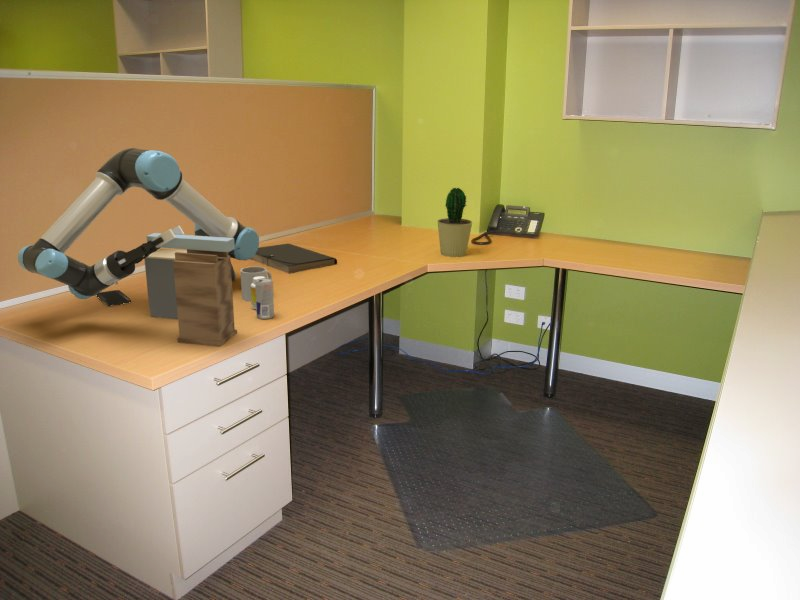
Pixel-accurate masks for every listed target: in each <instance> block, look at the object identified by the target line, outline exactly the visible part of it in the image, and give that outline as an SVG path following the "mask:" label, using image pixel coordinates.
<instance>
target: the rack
mask: <svg viewBox="0 0 800 600" xmlns="http://www.w3.org/2000/svg"><path fill="white" fill-rule="evenodd" d="M186 250H187V253H181V252H176V253H175V261H173V267H174V279H175V290H176V301H177V313H178V319H177V322H178V333H179V336H178V338H177V341H176V342H177V343H182V344H192V345H193V344H194V345H203V346H212V347H214V346H215V347H222V346H223V345H224V344H226V343H227V342H228V341H229V340H230V339H231V338H233V337H234V336H235V335H236V334H238V329H236V327H235V313H234V298H233V297H234V296H233V295H234V294H233V282H232V276H231V264H232V261H231V259H232V258H230V256H228V252H218V251H204V250H189V249H186Z"/></svg>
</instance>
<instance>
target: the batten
mask: <svg viewBox="0 0 800 600" xmlns="http://www.w3.org/2000/svg"><path fill="white" fill-rule="evenodd" d="M162 233H163V232H153V233H151V234H148V235H146V243H147V242H148V241H151V242H152V239H154V238H155V237H157V236H159V235H160V234H162ZM174 235H175V237H176V238H174V239H172V240H171V241H169V242H167V243H166V244H164V245H162V246H160V249H174V250H187V249H189V250H204V251H218V252H230V251H232V250H233V249H235V244H234V238H224V237H208V236H195V235H194V234H193V235H192V234H183V235H177V234H174ZM155 247H156V246H155Z"/></svg>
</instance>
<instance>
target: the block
mask: <svg viewBox="0 0 800 600" xmlns="http://www.w3.org/2000/svg"><path fill="white" fill-rule="evenodd" d="M176 252H181V253H187V249H174V248H160V249H158V250H157V251H156V252H153V253H151V254H150V255H149V256H148V257H146V258H144V259H143V260H144V268H145V269H144V270H145V278H146V279H145V280H146V287H147V297H148V308H149V309H148V310H149V317H150V316H153V317H152V318H159V317H161V318H160V319H170V318H171V319H170V320H172V319H173V320H178V313H177V301H176V290H175V279H174V267H173V261H175V253H176Z"/></svg>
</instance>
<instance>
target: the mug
mask: <svg viewBox="0 0 800 600" xmlns="http://www.w3.org/2000/svg"><path fill="white" fill-rule="evenodd" d="M239 271H240V285H241V299H242V301H244V300H245V301H244V302H249V301H250V302H251V303H252V300H251V284H252V283H253V278H254V277H258V276H262V277H265V278H269V279H272V280H273V277H272V274H271V272H270V271H269V270H267V268H266V267H264V266H263V267H262V266H246V267H243V268H241V269H240V270H239ZM250 302H249V303H250Z"/></svg>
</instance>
